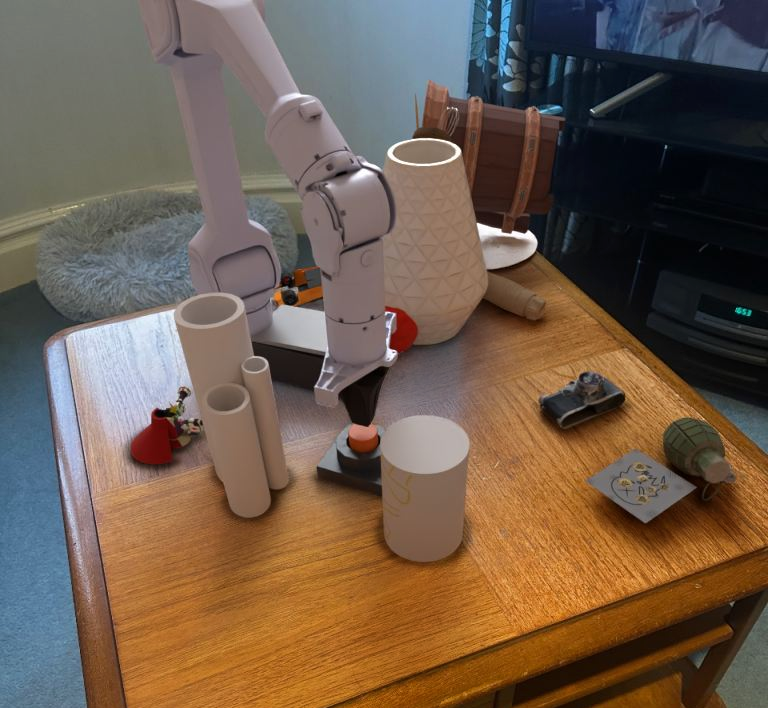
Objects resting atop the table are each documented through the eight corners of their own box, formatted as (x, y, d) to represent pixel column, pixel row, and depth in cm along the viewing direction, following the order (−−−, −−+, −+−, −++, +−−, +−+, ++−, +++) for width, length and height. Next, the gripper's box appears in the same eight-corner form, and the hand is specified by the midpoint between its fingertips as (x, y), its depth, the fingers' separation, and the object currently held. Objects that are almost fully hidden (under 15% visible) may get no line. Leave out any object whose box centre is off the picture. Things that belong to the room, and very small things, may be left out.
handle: (526, 318, 97) (438, 275, 103) (536, 333, 103) (452, 291, 109) (545, 287, 97) (456, 245, 103) (554, 303, 103) (469, 263, 108)
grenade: (687, 470, 84) (728, 515, 76) (638, 446, 82) (674, 490, 74) (724, 425, 81) (770, 467, 73) (674, 399, 79) (715, 439, 71)
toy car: (304, 248, 111) (310, 267, 113) (255, 291, 105) (262, 310, 108) (367, 260, 105) (371, 280, 108) (319, 306, 100) (324, 326, 102)
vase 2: (406, 281, 110) (405, 116, 93) (507, 314, 102) (525, 142, 86) (335, 333, 100) (320, 161, 84) (441, 374, 93) (447, 194, 76)
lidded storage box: (375, 363, 95) (373, 328, 92) (346, 399, 90) (343, 364, 86) (287, 342, 99) (282, 308, 96) (255, 375, 94) (248, 341, 90)
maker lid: (377, 325, 91) (377, 320, 90) (348, 360, 86) (347, 356, 85) (282, 308, 96) (281, 304, 95) (248, 341, 90) (247, 336, 90)
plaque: (396, 228, 122) (396, 219, 121) (501, 209, 127) (502, 200, 126) (444, 285, 110) (444, 276, 108) (559, 262, 114) (561, 253, 113)
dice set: (638, 460, 78) (635, 473, 79) (606, 481, 76) (603, 494, 77) (677, 485, 75) (673, 498, 76) (644, 507, 73) (641, 520, 74)
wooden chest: (407, 264, 115) (531, 279, 115) (418, 147, 94) (571, 164, 94) (418, 176, 122) (536, 190, 122) (431, 48, 100) (574, 64, 100)
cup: (380, 506, 77) (376, 418, 68) (456, 500, 77) (461, 412, 69) (387, 565, 71) (384, 477, 63) (468, 558, 72) (476, 470, 63)
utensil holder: (444, 180, 92) (462, 89, 92) (396, 174, 93) (413, 82, 93) (445, 201, 98) (461, 115, 98) (400, 195, 99) (416, 109, 99)
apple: (384, 321, 102) (382, 270, 97) (436, 340, 99) (437, 288, 93) (345, 351, 98) (341, 299, 92) (399, 372, 94) (398, 319, 88)
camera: (532, 409, 88) (536, 380, 85) (599, 384, 91) (605, 355, 88) (557, 432, 84) (563, 403, 81) (626, 405, 88) (634, 377, 85)
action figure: (228, 441, 85) (219, 404, 81) (151, 479, 81) (137, 442, 77) (192, 405, 90) (182, 368, 86) (117, 438, 86) (103, 402, 82)
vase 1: (208, 458, 83) (165, 303, 69) (268, 440, 85) (238, 285, 71) (237, 523, 76) (195, 364, 61) (301, 501, 78) (275, 342, 63)
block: (317, 477, 80) (314, 453, 78) (349, 434, 85) (347, 411, 83) (382, 496, 78) (381, 473, 75) (411, 451, 83) (411, 428, 80)
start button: (344, 448, 79) (343, 436, 78) (357, 431, 81) (356, 419, 80) (370, 456, 78) (369, 443, 77) (382, 438, 80) (382, 426, 79)
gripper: (359, 358, 62) (367, 473, 71) (423, 279, 71) (422, 391, 80) (288, 341, 64) (304, 455, 74) (359, 266, 73) (365, 377, 83)
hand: (362, 421), depth 77 cm, fingers closed
